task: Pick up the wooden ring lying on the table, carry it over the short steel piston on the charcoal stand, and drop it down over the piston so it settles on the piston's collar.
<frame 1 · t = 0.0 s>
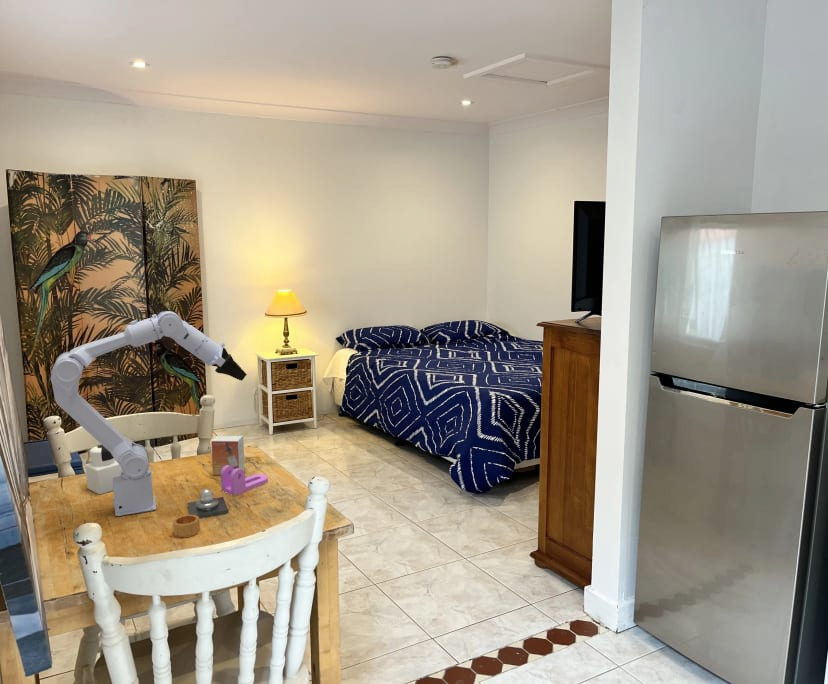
hand: (241, 374, 179), 32 cm above the table, tool tilted 50°, fingers open, 7 cm apart
small box: (229, 473, 198), on the table
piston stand: (207, 509, 171), on the table
wooden ring: (186, 531, 159), on the table
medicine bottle: (106, 488, 187), on the table
bracket: (247, 487, 187), on the table
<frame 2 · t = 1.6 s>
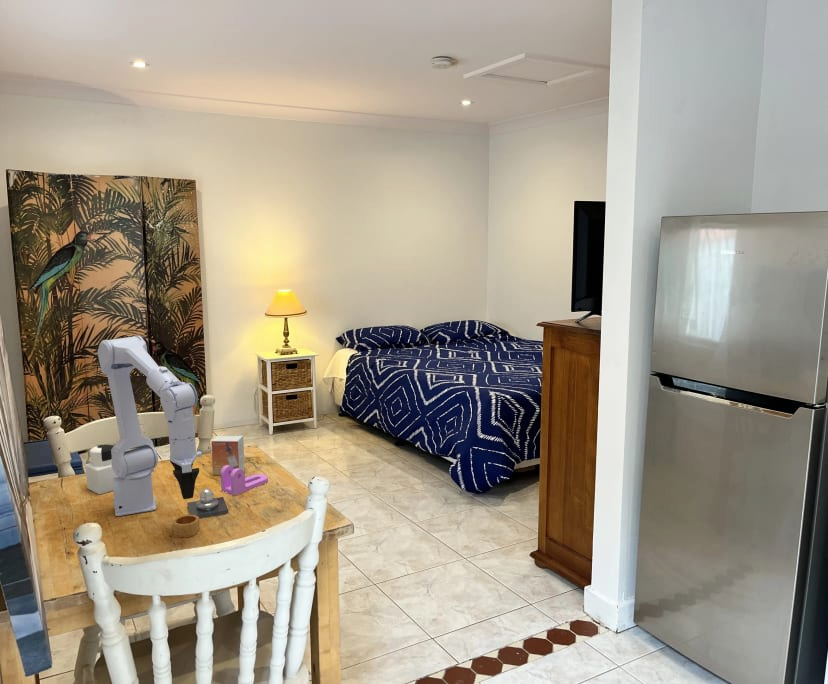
hand: (186, 492, 158), 10 cm above the table, tool pointing down, fingers open, 7 cm apart
nothing on the table moved.
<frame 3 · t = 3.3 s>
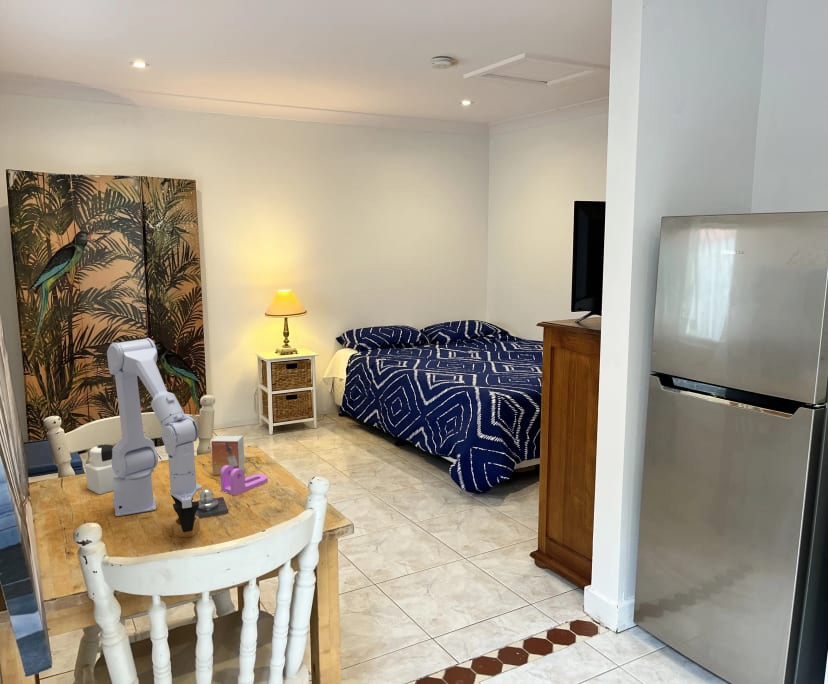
hand: (186, 525, 159), 2 cm above the table, tool pointing down, fingers closed on wooden ring, 6 cm apart
wooden ring: (186, 531, 159), on the table, touching gripper
everything else where it was.
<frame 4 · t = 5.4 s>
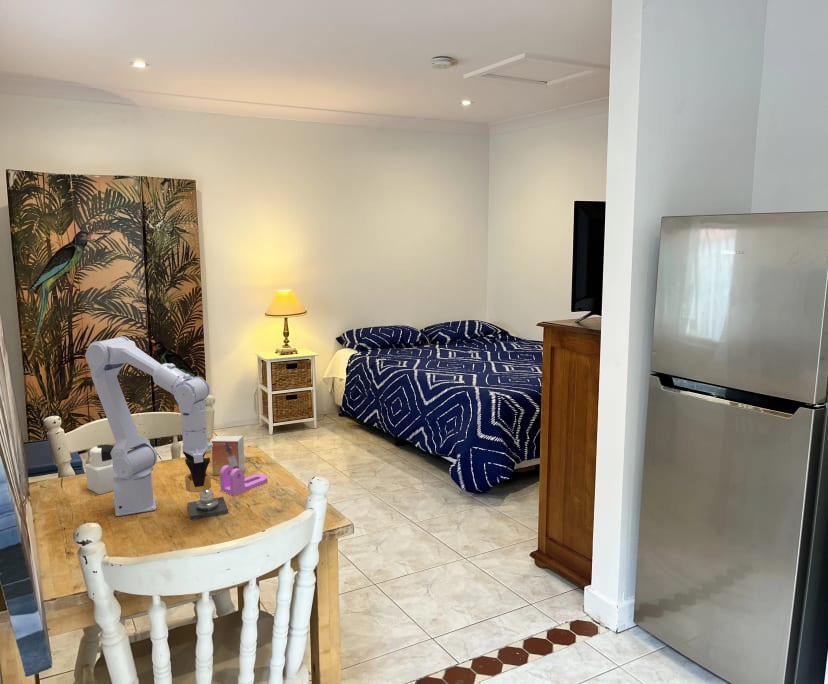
hand: (197, 481, 165), 9 cm above the table, tool pointing down, fingers closed on wooden ring, 6 cm apart
wooden ring: (198, 487, 166), point 8 cm above the table, touching gripper
everything else where it was.
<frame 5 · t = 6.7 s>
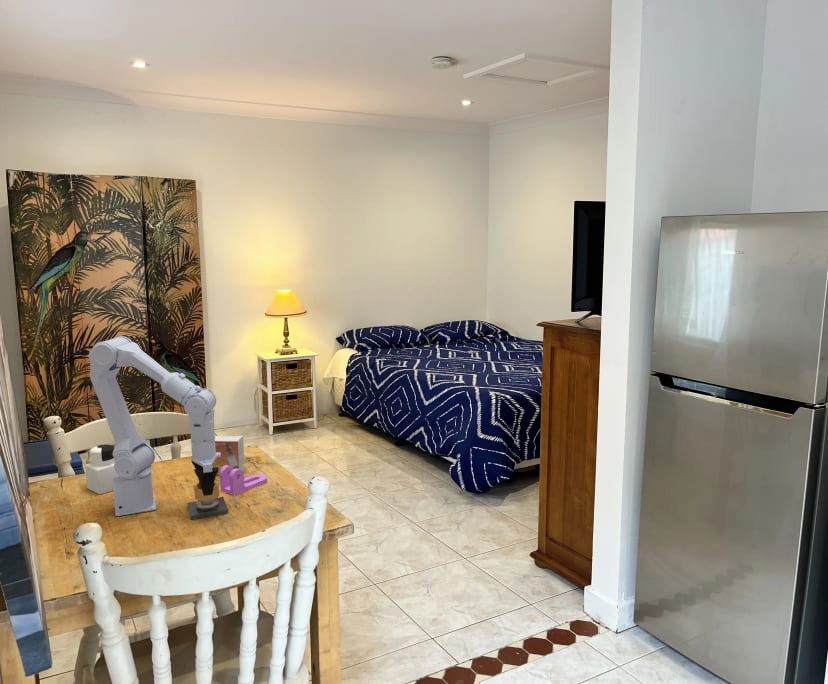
hand: (206, 490, 171), 5 cm above the table, tool pointing down, fingers closed on wooden ring, 6 cm apart
wooden ring: (207, 496, 171), point 4 cm above the table, touching gripper
everything else where it was.
when the fingers open (5 cm above the table, at t = 7.7 s): wooden ring drops 1 cm, resting on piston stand.
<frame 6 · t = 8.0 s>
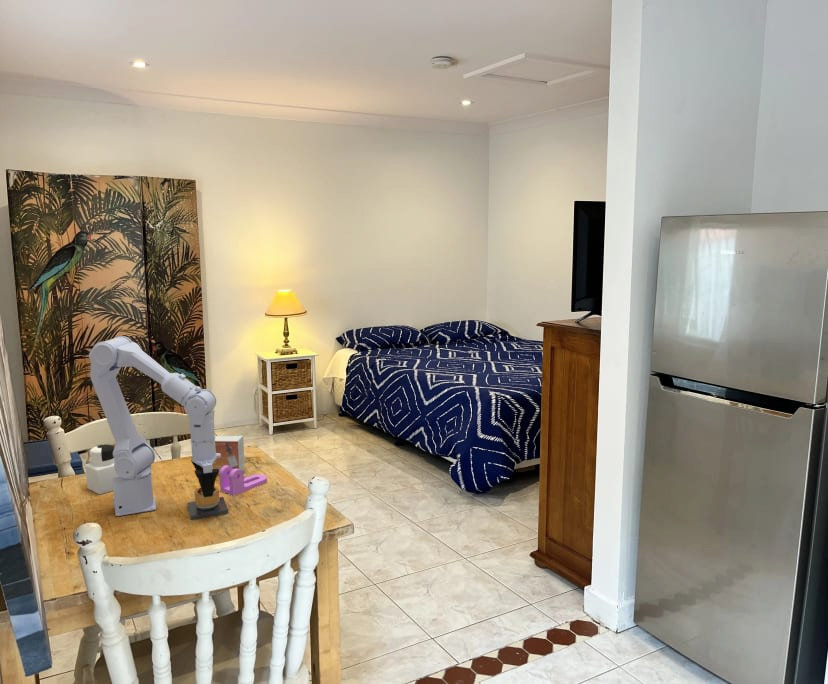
hand: (206, 490, 171), 5 cm above the table, tool pointing down, fingers open, 7 cm apart
wooden ring: (207, 501, 171), point 2 cm above the table, touching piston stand
everything else where it was.
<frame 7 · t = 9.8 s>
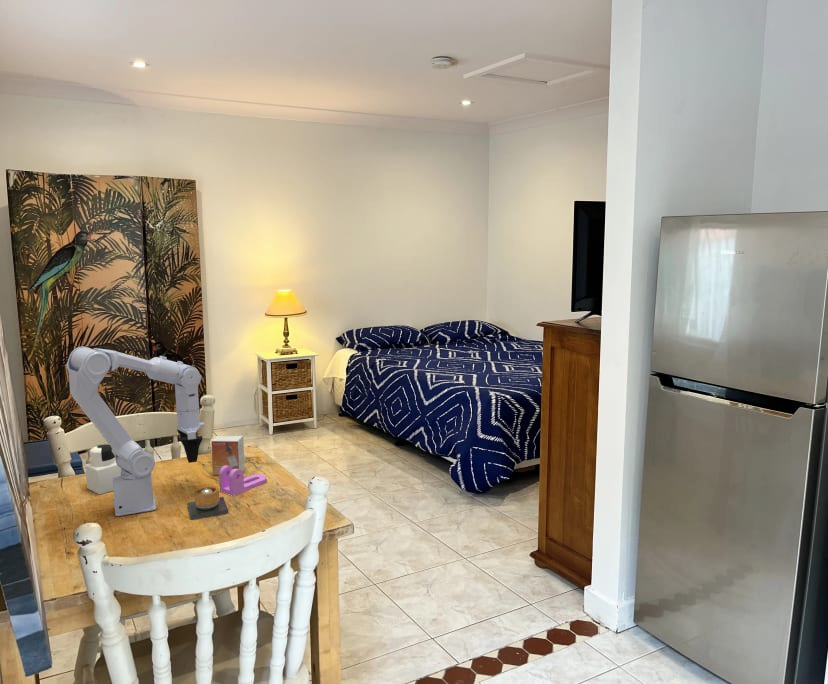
hand: (191, 457, 183), 9 cm above the table, tool pointing down, fingers open, 7 cm apart
nothing on the table moved.
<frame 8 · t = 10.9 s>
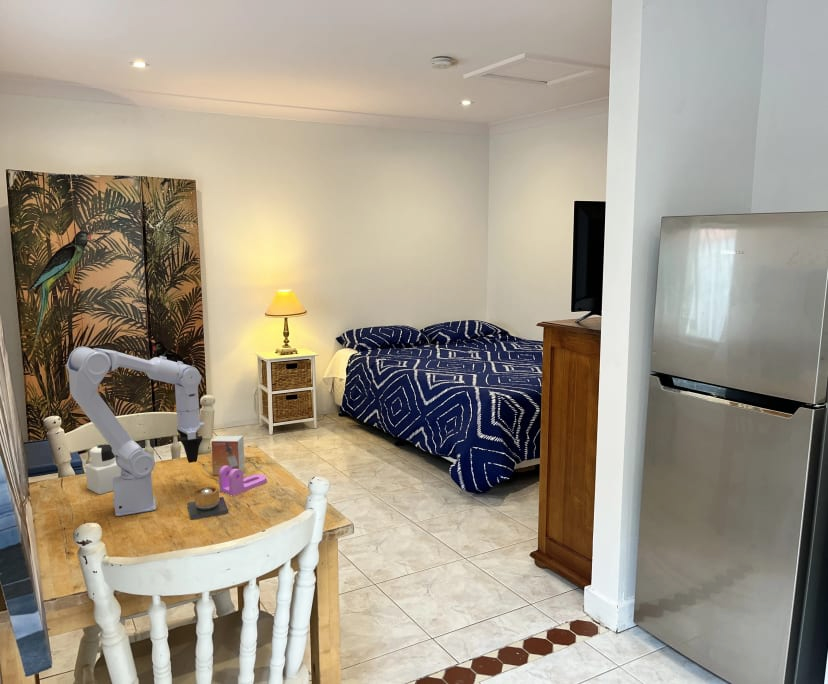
hand: (191, 457, 183), 9 cm above the table, tool pointing down, fingers open, 7 cm apart
nothing on the table moved.
at the end: wooden ring 0.1 cm off-centre on the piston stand, point 2.2 cm above the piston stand's base; the gripper is holding nothing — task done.
